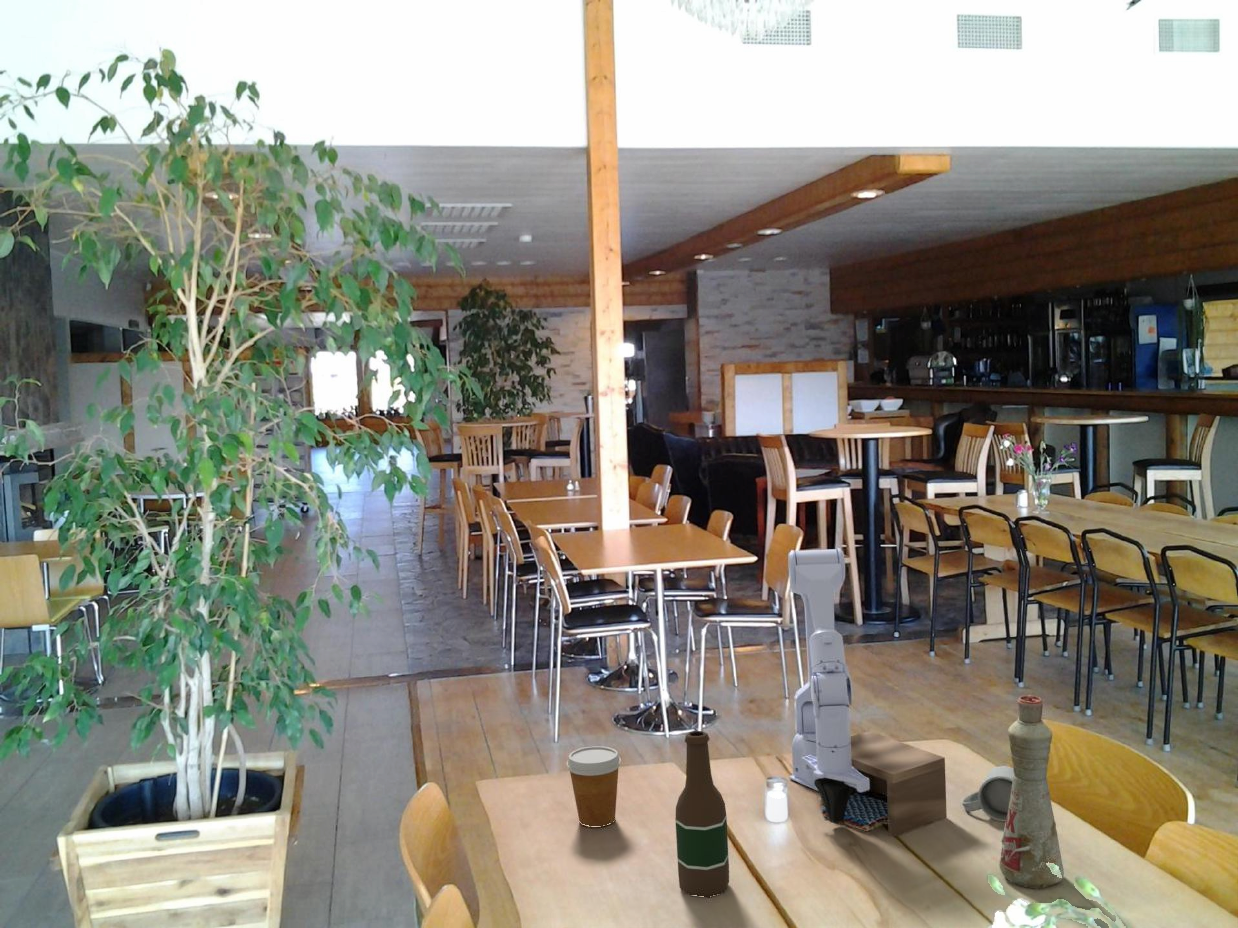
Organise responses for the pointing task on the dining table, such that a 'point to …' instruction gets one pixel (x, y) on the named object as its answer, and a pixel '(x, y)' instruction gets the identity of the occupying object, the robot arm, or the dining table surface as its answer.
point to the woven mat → (864, 812)
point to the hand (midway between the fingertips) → (836, 820)
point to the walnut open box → (902, 780)
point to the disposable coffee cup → (595, 783)
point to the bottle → (1030, 803)
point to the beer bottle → (701, 825)
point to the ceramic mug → (993, 794)
